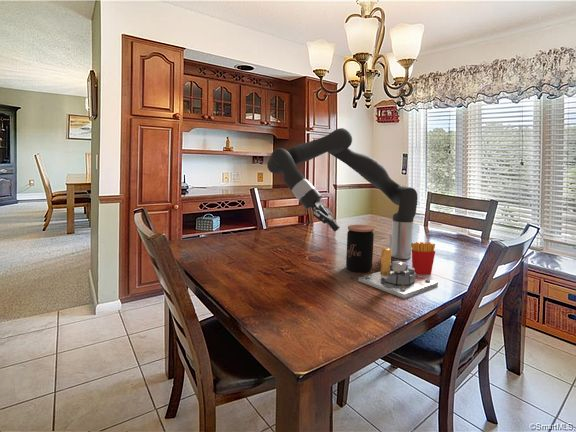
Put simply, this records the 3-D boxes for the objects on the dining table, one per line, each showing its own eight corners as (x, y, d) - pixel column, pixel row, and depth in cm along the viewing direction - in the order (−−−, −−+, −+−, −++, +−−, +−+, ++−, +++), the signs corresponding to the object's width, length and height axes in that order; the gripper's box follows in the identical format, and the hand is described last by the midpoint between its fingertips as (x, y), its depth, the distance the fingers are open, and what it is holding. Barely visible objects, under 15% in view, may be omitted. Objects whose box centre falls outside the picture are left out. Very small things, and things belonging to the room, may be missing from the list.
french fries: (430, 272, 141) (433, 241, 139) (434, 275, 137) (437, 243, 135) (408, 271, 142) (410, 240, 140) (410, 274, 138) (413, 243, 136)
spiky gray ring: (391, 272, 135) (393, 239, 133) (419, 279, 127) (421, 244, 125) (367, 282, 123) (369, 247, 121) (397, 291, 115) (399, 253, 113)
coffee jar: (341, 266, 147) (342, 225, 144) (362, 264, 151) (364, 223, 148) (354, 274, 137) (356, 230, 134) (377, 271, 141) (379, 228, 138)
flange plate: (358, 281, 130) (359, 260, 128) (392, 271, 141) (393, 252, 140) (404, 298, 114) (405, 275, 113) (437, 286, 125) (439, 265, 124)
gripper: (305, 198, 134) (334, 232, 131) (292, 202, 122) (324, 239, 119) (319, 185, 131) (349, 220, 129) (307, 188, 119) (340, 226, 117)
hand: (337, 229), depth 124 cm, fingers closed
